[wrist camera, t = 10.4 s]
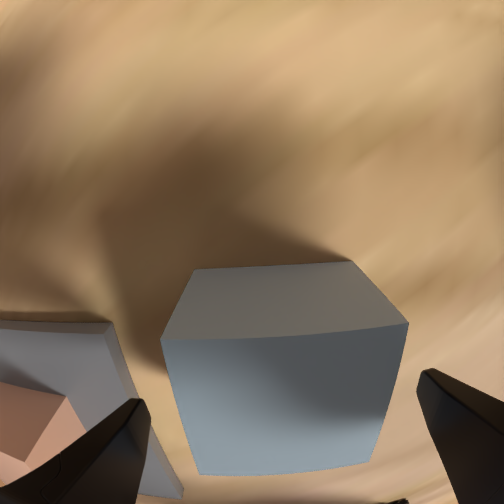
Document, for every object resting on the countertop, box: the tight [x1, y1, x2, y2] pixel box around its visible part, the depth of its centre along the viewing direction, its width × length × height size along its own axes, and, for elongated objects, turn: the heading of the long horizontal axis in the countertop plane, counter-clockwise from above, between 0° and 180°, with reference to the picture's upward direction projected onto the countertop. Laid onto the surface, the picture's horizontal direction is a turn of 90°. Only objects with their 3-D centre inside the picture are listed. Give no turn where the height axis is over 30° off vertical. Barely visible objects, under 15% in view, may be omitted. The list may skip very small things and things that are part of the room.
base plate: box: [0, 320, 184, 499], centre depth 14 cm, size 14×14×1 cm
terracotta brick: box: [0, 382, 87, 485], centre depth 11 cm, size 6×6×5 cm
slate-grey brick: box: [160, 261, 409, 476], centre depth 10 cm, size 6×6×5 cm
